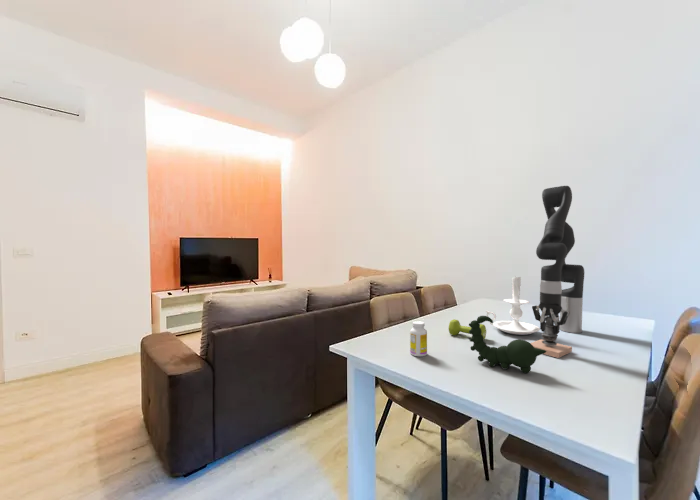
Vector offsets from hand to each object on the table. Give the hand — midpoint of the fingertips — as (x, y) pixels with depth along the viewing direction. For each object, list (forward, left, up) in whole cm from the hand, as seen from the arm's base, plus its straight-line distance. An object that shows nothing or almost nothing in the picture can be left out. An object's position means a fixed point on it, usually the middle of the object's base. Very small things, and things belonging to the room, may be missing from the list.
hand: (549, 332), depth 133 cm
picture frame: (-6, 0, -6) cm, 9 cm away
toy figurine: (+31, -1, -8) cm, 32 cm away
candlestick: (-14, -24, -8) cm, 29 cm away
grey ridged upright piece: (0, 0, -5) cm, 5 cm away
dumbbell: (+12, -31, -8) cm, 34 cm away
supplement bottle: (+47, -28, -8) cm, 55 cm away
